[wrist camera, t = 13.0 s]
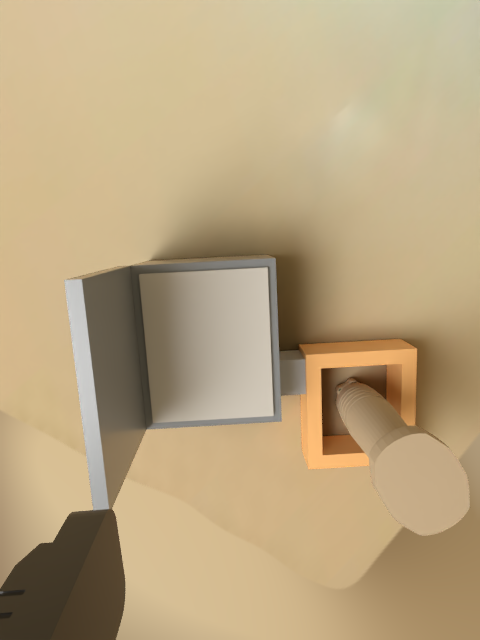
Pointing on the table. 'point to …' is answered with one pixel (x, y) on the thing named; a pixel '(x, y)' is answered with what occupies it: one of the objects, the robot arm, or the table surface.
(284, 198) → the table surface
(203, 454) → the table surface
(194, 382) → the chair with orange tray
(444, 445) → the handle
